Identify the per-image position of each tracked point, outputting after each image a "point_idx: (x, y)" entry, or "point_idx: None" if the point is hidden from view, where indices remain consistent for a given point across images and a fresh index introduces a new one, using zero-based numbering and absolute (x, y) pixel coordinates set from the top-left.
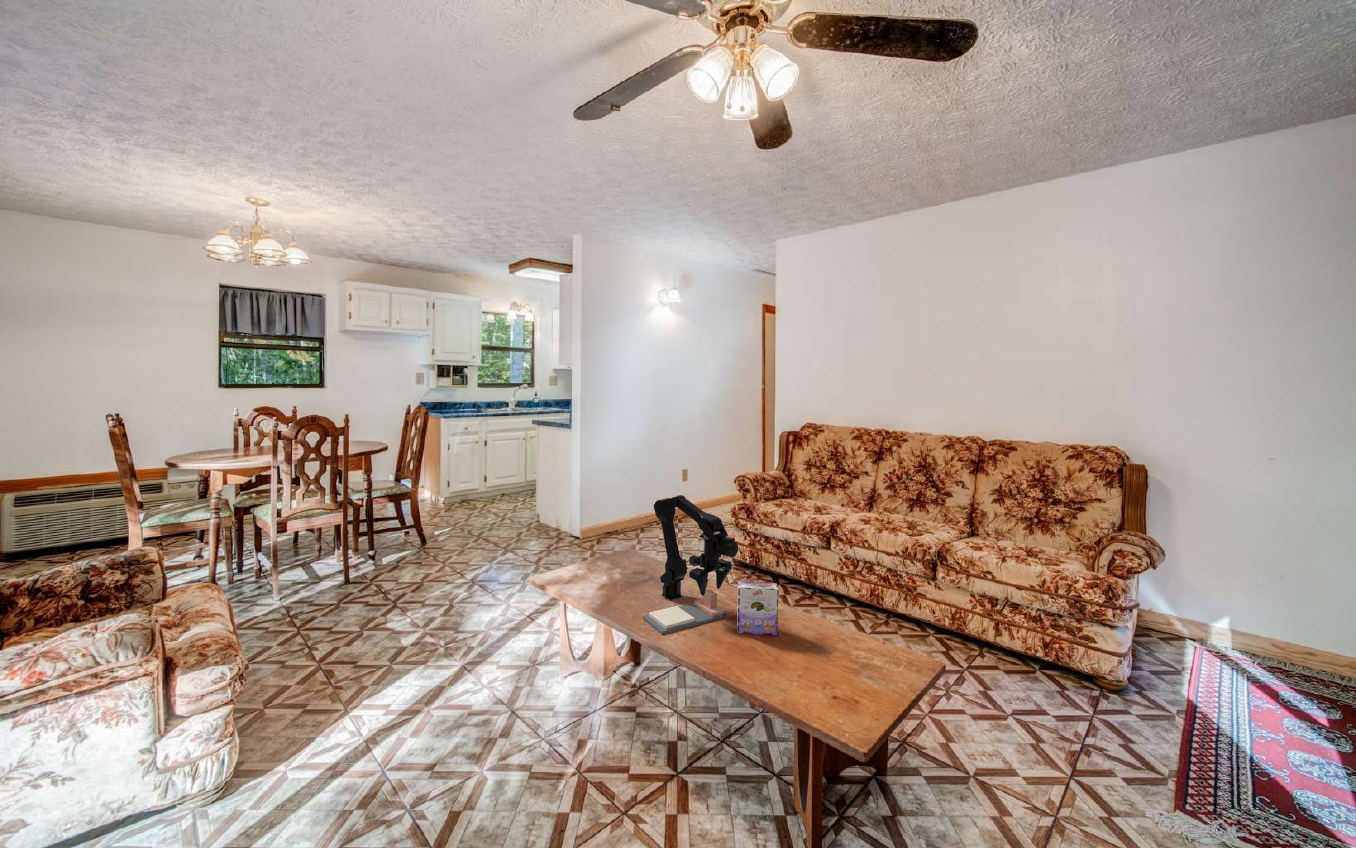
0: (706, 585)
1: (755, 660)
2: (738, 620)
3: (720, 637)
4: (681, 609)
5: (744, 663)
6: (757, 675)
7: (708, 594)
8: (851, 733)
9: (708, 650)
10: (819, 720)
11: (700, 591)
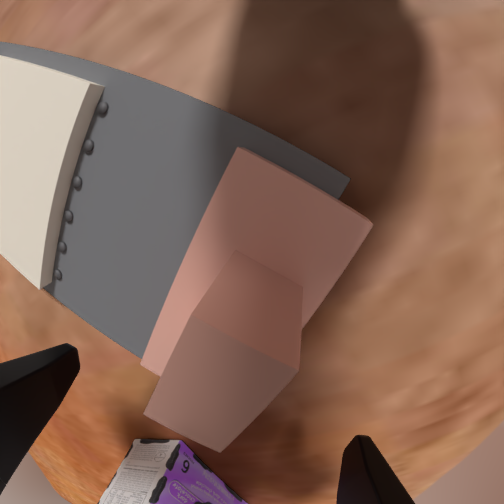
0: (7, 468)
1: (73, 457)
2: (115, 477)
3: (71, 394)
4: (61, 154)
5: (49, 438)
6: (47, 451)
7: (153, 393)
8: (67, 498)
9: None
10: (55, 484)
11: (31, 359)
